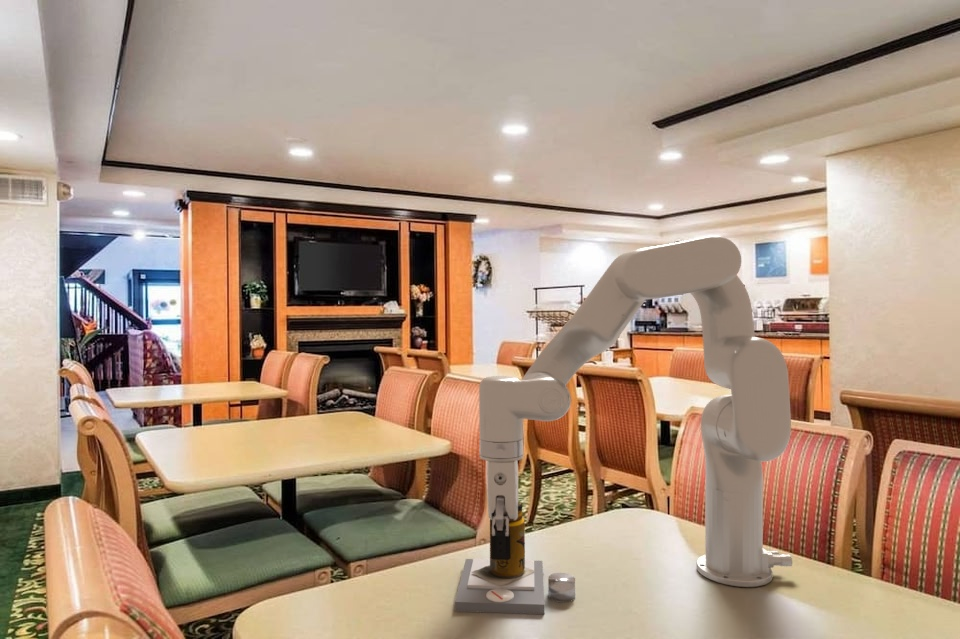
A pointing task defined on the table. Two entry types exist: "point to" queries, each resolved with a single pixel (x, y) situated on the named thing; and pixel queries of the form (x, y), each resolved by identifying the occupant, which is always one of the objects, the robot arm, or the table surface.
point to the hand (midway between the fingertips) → (502, 547)
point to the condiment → (515, 566)
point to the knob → (561, 587)
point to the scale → (500, 591)
